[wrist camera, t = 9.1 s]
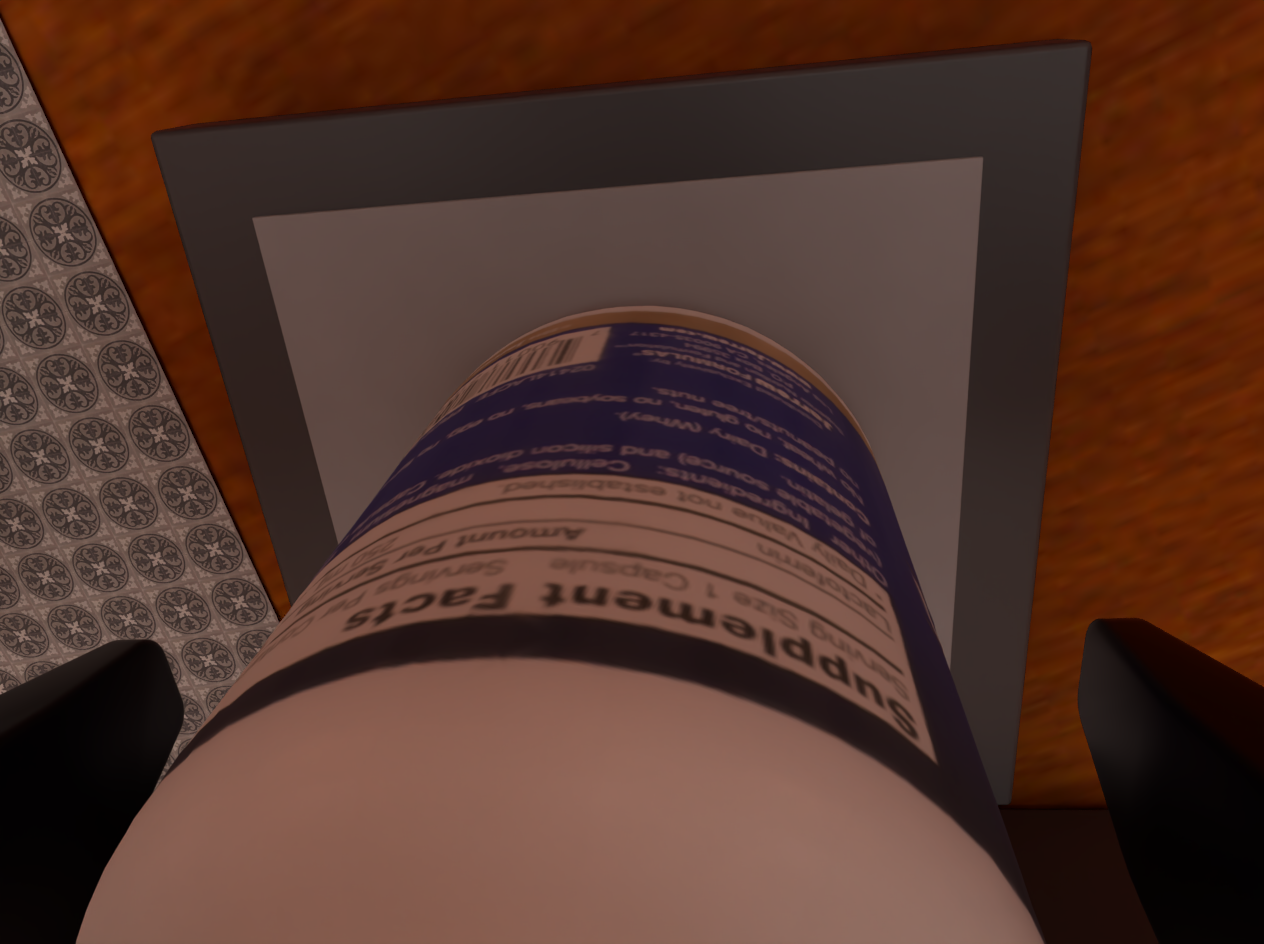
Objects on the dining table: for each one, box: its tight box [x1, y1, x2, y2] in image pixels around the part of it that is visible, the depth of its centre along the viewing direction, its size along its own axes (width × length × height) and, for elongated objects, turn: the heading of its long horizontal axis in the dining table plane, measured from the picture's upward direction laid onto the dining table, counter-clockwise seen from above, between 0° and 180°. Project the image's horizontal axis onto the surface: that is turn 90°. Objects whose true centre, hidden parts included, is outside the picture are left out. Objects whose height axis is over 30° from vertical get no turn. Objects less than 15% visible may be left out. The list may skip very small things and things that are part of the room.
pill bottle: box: [76, 306, 1047, 944], centre depth 7 cm, size 6×6×10 cm
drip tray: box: [151, 39, 1092, 805], centre depth 12 cm, size 10×10×1 cm
